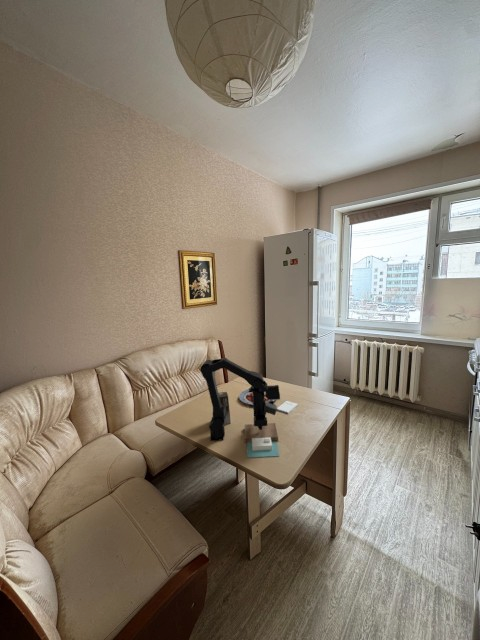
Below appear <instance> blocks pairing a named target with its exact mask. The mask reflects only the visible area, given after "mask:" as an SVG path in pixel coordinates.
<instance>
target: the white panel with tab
mask: <svg viewBox="0 0 480 640" xmlns="http://www.w3.org/2000/svg"><path fill="white" fill-rule="evenodd" d="M252 449H253V450H272V442H271V437H268V438H252Z"/></svg>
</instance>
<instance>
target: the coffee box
mask: <svg viewBox="0 0 480 640" xmlns="http://www.w3.org/2000/svg"><path fill="white" fill-rule="evenodd" d="M218 394H219V398H220V402H221V404H222V406H226V411H227V415H226V419H225V422H224V424H223V425H227V424H231V423H232V422H231V414H230V413H231V412H230V403H229V394H228V392H227V391H222V392H218Z"/></svg>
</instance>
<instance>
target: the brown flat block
mask: <svg viewBox="0 0 480 640" xmlns="http://www.w3.org/2000/svg"><path fill="white" fill-rule="evenodd" d="M276 425H277V424H276V423H275V422H271V423H270V422H269V423H268V422H267V426H262V430H259V428H258V426H254V423H251V424H244V444H247V443H252V438H268V437H271V442H274V441H276V442H279V436H278V432H277V426H276Z"/></svg>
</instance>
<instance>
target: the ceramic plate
mask: <svg viewBox="0 0 480 640" xmlns="http://www.w3.org/2000/svg"><path fill="white" fill-rule="evenodd" d="M264 397H265V402H266V403H267V402H269V401H270V400H268V399H267V398H266V392H264ZM238 398H239V400H240V401H241V402H242V403H244V404H247V405H252V406H253V392H249V388H247V389H245V390H244V391H241V392H240V393H239V396H238ZM272 401H273V402H275V401H276V400H272Z"/></svg>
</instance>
